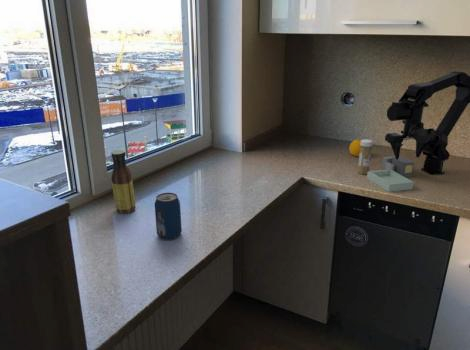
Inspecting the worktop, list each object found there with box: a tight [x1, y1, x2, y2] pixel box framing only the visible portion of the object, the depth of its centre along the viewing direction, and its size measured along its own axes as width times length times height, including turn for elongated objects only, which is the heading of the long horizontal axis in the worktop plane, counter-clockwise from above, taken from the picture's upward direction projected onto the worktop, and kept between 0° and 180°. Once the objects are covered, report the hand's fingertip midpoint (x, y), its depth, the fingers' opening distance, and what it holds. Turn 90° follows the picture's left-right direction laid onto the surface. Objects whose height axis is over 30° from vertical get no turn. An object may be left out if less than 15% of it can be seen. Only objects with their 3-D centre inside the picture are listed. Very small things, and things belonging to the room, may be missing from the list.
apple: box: [348, 139, 362, 158], centre depth 181 cm, size 8×8×8 cm
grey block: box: [391, 155, 415, 178], centre depth 159 cm, size 4×8×6 cm, turn 15°
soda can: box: [154, 192, 182, 241], centre depth 111 cm, size 7×7×12 cm
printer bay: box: [381, 155, 395, 171], centre depth 163 cm, size 7×6×5 cm
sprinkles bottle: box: [357, 138, 374, 175], centre depth 159 cm, size 5×5×14 cm
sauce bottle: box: [110, 149, 136, 215], centre depth 125 cm, size 6×6×20 cm
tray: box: [366, 169, 415, 193], centre depth 149 cm, size 10×14×3 cm
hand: (407, 158), depth 155 cm, fingers open, 9 cm apart
